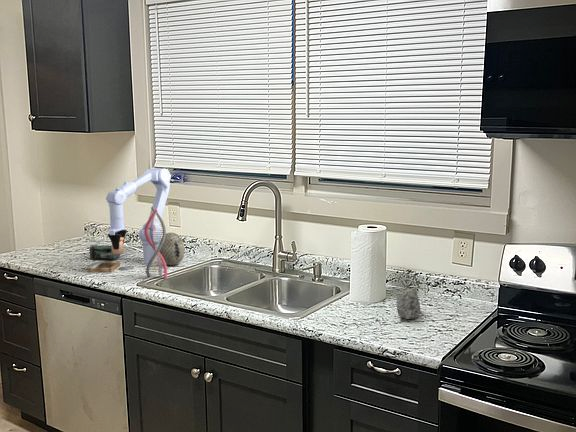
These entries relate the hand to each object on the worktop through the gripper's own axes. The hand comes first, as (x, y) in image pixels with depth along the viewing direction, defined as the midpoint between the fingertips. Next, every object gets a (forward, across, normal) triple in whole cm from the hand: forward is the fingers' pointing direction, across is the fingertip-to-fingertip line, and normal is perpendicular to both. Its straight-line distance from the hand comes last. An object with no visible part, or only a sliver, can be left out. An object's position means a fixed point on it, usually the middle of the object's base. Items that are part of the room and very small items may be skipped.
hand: (118, 247), depth 279 cm
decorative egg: (+10, -9, +21) cm, 26 cm away
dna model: (+10, +14, +21) cm, 27 cm away
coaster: (+10, 0, +3) cm, 10 cm away
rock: (+10, +56, +121) cm, 134 cm away
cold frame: (+10, +1, -6) cm, 12 cm away
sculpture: (+10, -18, -13) cm, 24 cm away
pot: (+2, 0, -1) cm, 2 cm away
